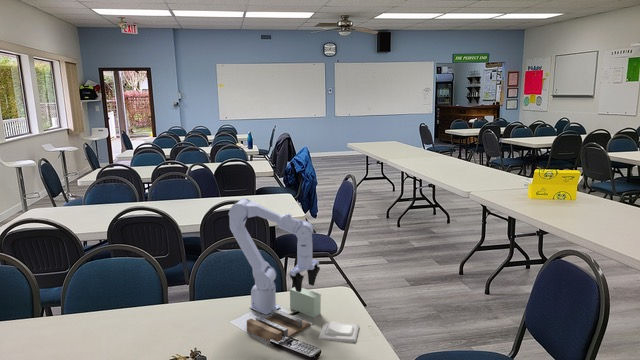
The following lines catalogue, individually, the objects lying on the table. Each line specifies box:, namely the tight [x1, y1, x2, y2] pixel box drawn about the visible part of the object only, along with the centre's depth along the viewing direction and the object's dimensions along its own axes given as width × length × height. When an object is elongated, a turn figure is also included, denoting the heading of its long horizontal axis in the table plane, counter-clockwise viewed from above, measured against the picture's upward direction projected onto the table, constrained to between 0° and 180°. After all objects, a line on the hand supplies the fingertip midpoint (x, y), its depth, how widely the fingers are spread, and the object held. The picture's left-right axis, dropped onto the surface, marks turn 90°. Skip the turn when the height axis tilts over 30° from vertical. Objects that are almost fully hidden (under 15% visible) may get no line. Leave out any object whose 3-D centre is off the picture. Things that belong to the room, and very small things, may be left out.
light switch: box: [318, 320, 360, 343], centre depth 157 cm, size 11×4×13 cm
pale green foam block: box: [289, 286, 322, 318], centre depth 173 cm, size 5×12×8 cm, turn 51°
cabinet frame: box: [246, 309, 312, 342], centre depth 160 cm, size 15×17×4 cm
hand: (305, 288), depth 172 cm, fingers open, 7 cm apart
